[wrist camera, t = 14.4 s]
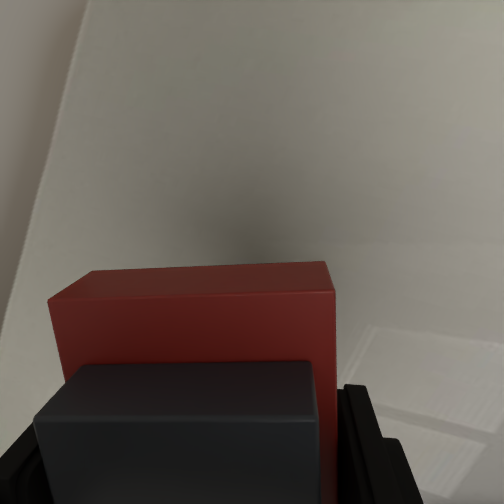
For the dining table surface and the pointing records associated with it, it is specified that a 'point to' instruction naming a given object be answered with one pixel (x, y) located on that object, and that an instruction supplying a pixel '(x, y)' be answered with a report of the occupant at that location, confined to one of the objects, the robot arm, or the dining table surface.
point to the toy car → (194, 387)
